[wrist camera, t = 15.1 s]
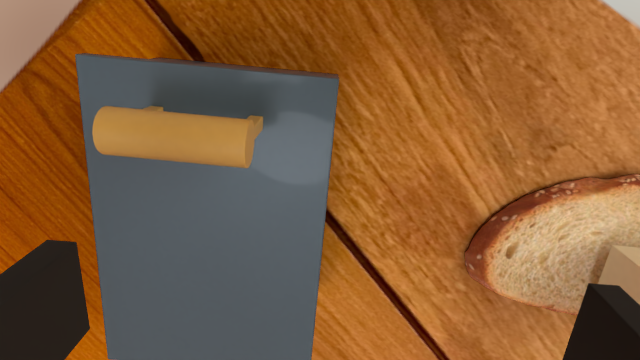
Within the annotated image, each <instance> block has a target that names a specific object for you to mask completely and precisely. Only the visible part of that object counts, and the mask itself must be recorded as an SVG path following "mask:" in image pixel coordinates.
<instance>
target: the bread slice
mask: <svg viewBox="0 0 640 360" xmlns="http://www.w3.org/2000/svg"><path fill="white" fill-rule="evenodd" d="M612 245H618V246H628V247H638V248H640V175H639V174H630V175H626V176H621V177H617V178H613V179H598V178H583V179H579V180H574V181H567V182H563V183H560V184H558V185H555V186H552V187H549V188H546V189H543V190H539V191H536V192H534V193H531V194H529V195H526V196H524V197H522V198H521V199H519V200H517V201H516V202H514V203H512V204H510V205H508V206H507V207H506V208H505V209H503V210H502V211H500V212H498V213H496V214H495V215H494V216H493V217H492V218H491V219H490V220H489V221H488V222H487V223H486V224H485V225H483V226H482V227H481V229H480V230H479V231H478V233H477V234H476V235H475V237H474V238H473V240H472V241H471V243H470V246H469V248H468V250H467V251H466V252H465V264H466V267H467V270H468V273H469V275H470V276H471V277H472V278H473V279H474V280H476V281H477V282H479V283H480V284H482V285H484V286H485V287H486V288H488V289H490V290H492V291H494V292H496V293H497V294H500V295H503V296H505V297H507V298H510V299H512V300H515V301H519V302H522V303H524V304H526V305H530V306H536V307H544V308H547V309H549V310H552V311H557V312H565V313H569V314H572V315H578V313H579V310H580V307H581V304H582V301H583V298H584V295H585V292H586V289H587V286H588V283H593V284H598V282H599V280H600V277H601V274H602V271H603V269H604V266H605V263H606V260H607V258H608V255H609V252H610V250H611V247H612Z"/></svg>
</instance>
